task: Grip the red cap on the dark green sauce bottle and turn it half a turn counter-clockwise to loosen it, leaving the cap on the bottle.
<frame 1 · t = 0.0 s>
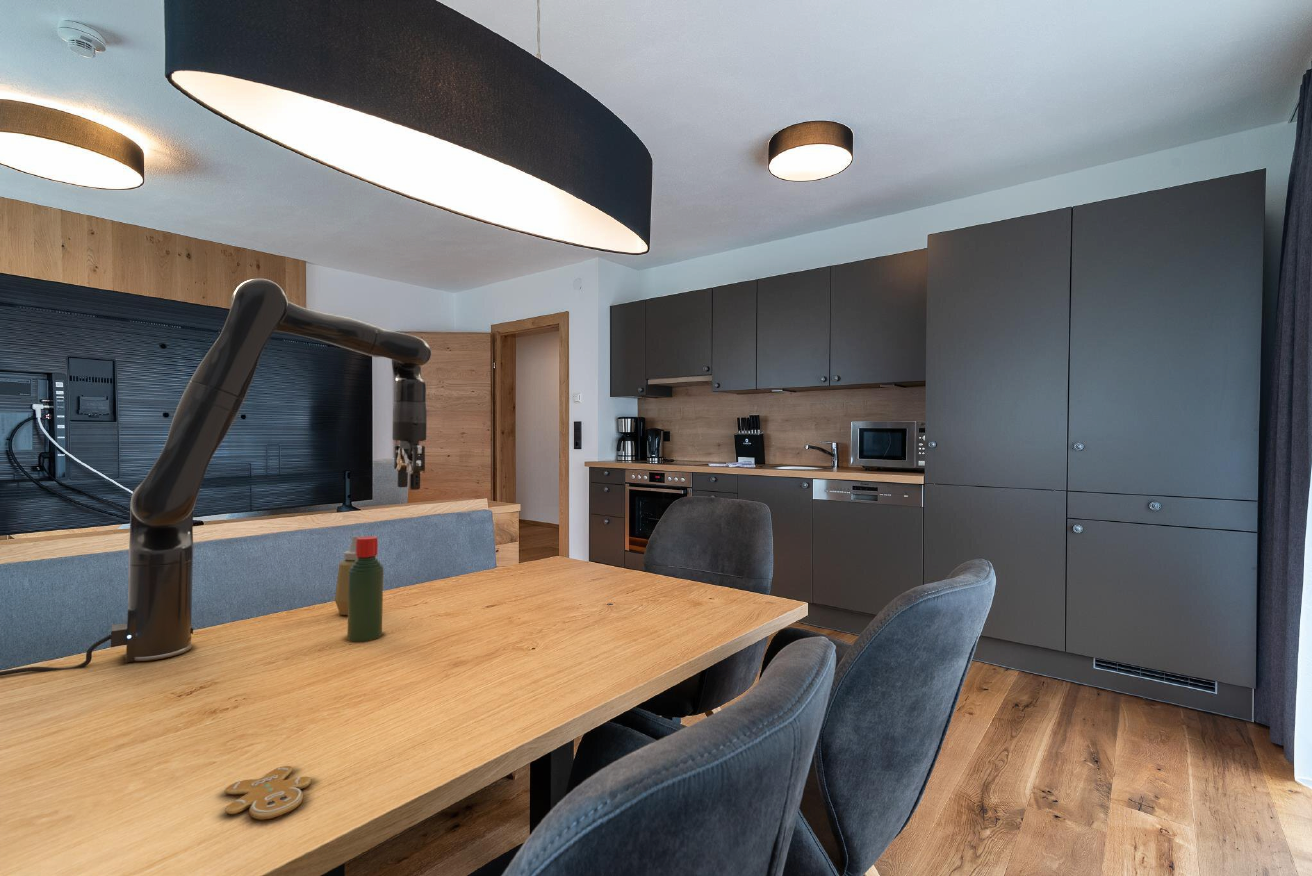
hand: (408, 488, 139), 29 cm above the table, tool pointing down, fingers open, 8 cm apart
squeeze bottle: (353, 613, 137), on the table
cap: (366, 539, 120), point 20 cm above the table, screwed on, not yet turned
cookie: (269, 798, 65), on the table
sauce bottle: (364, 636, 120), on the table
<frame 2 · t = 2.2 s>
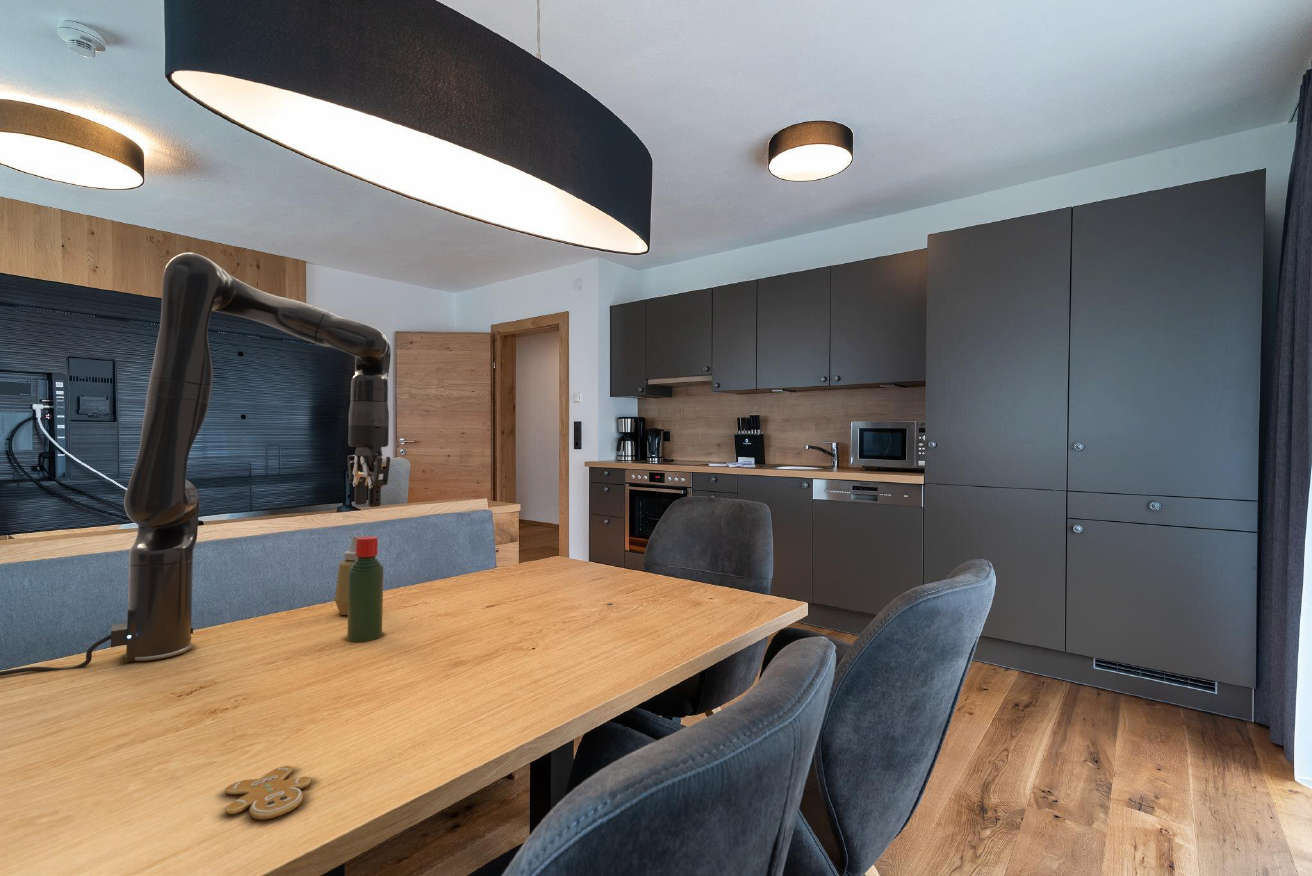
hand: (367, 505, 120), 27 cm above the table, tool pointing down, fingers open, 5 cm apart
nothing on the table moved.
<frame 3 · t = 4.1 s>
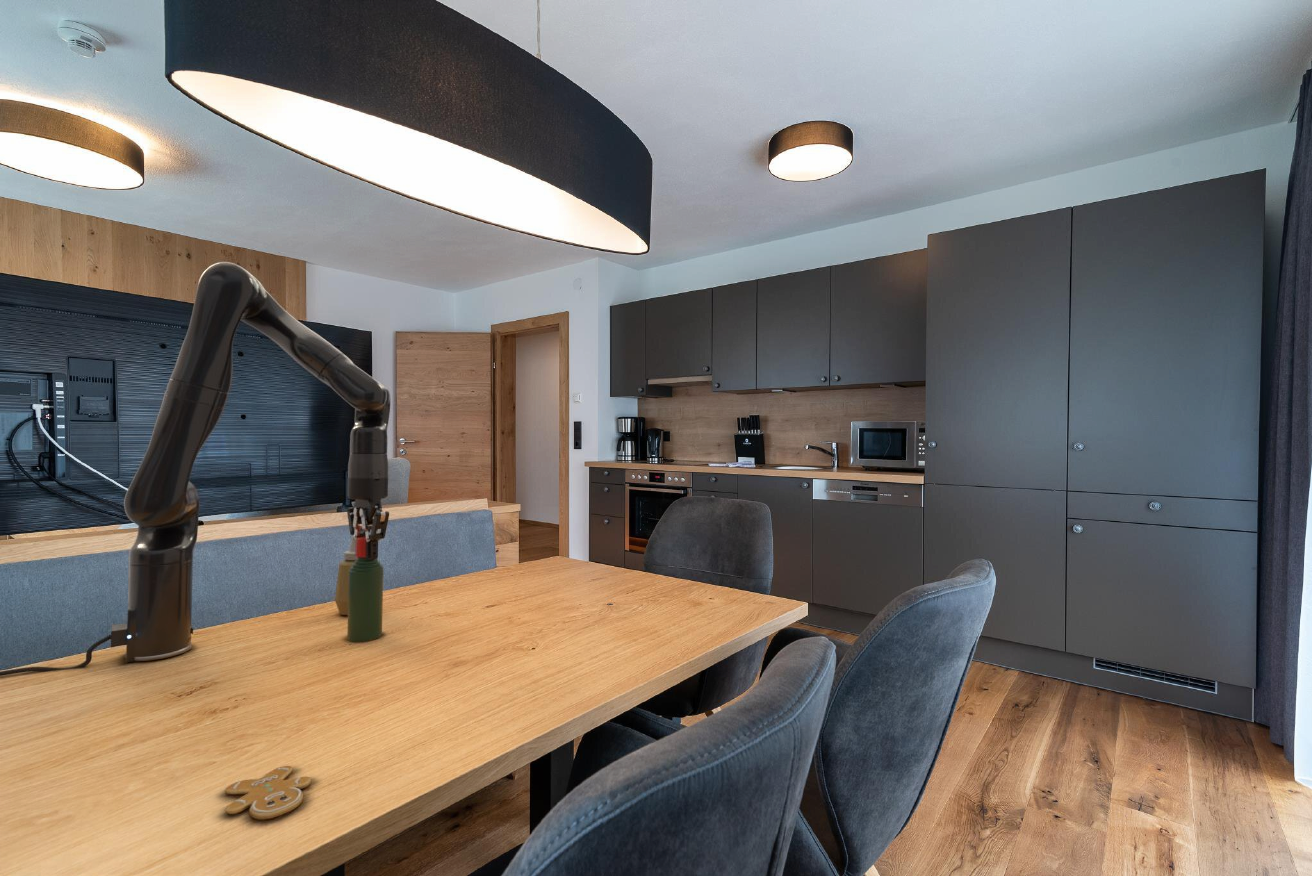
hand: (366, 557, 120), 16 cm above the table, tool pointing down, fingers closed on cap, 3 cm apart
cap: (366, 539, 120), point 20 cm above the table, screwed on, not yet turned, touching gripper
everything else where it was.
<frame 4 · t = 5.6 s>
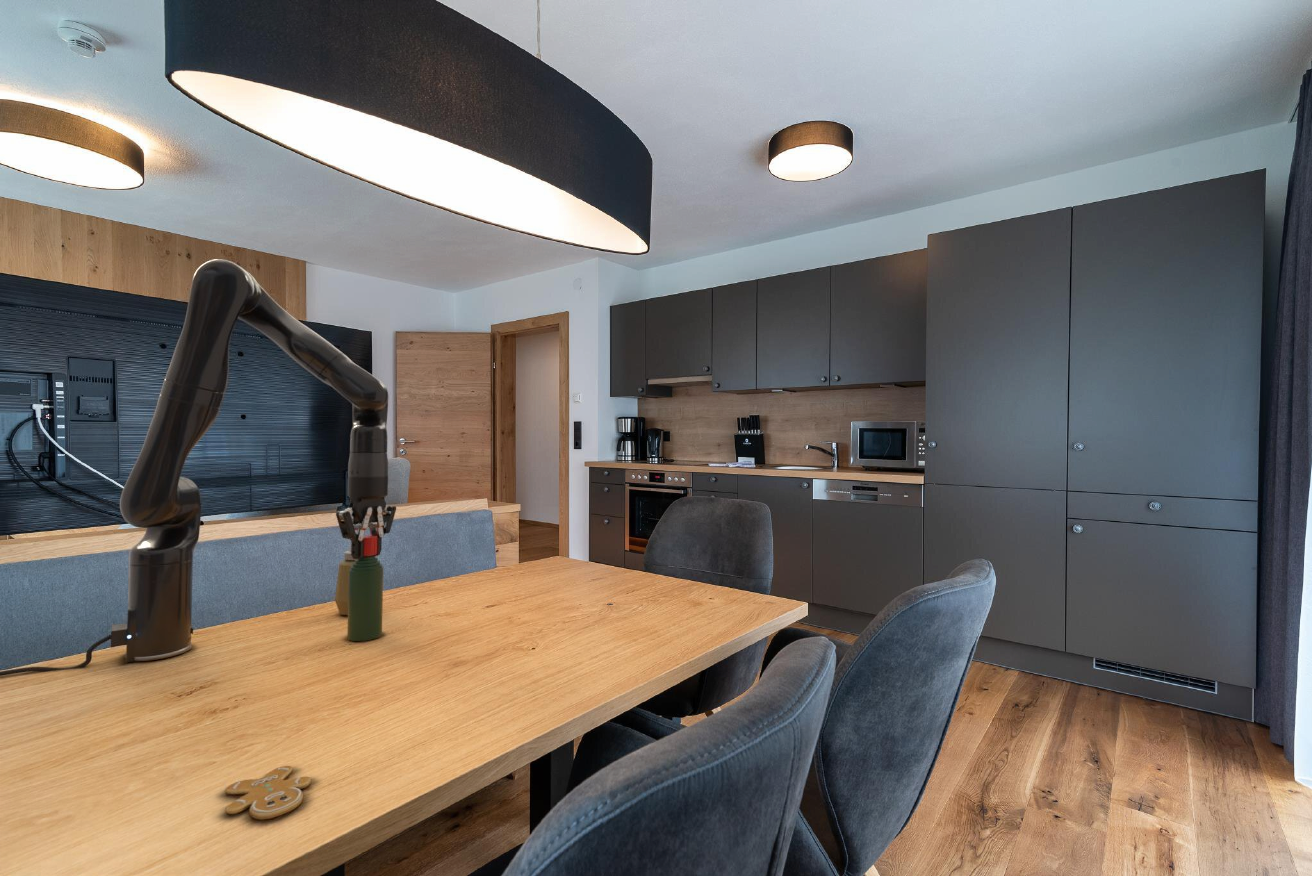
hand: (366, 556, 120), 16 cm above the table, tool pointing down, fingers closed on cap, 3 cm apart
cap: (366, 538, 120), point 20 cm above the table, turned 109° so far, risen 0.1 cm, still on its thread, touching gripper
everything else where it was.
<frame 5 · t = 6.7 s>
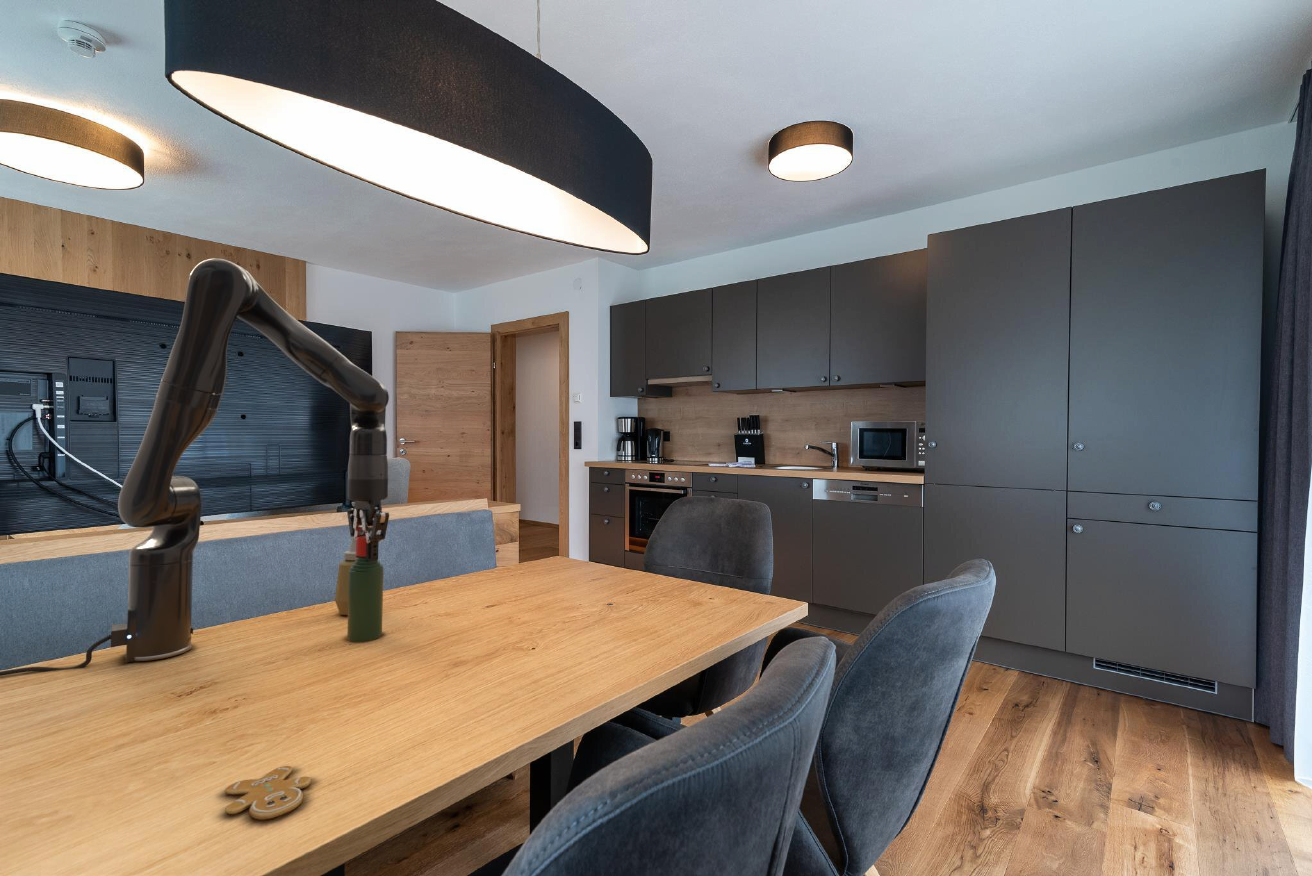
hand: (367, 559, 120), 16 cm above the table, tool pointing down, fingers closed on cap, 3 cm apart
cap: (367, 538, 120), point 20 cm above the table, turned 181° so far, risen 0.2 cm, still on its thread, touching gripper
sauce bottle: (364, 636, 120), on the table, touching gripper
everything else where it was.
when the fingers open (16 cm above the table, at t = 8.4 s): cap stays where it is, point 20 cm above the table.
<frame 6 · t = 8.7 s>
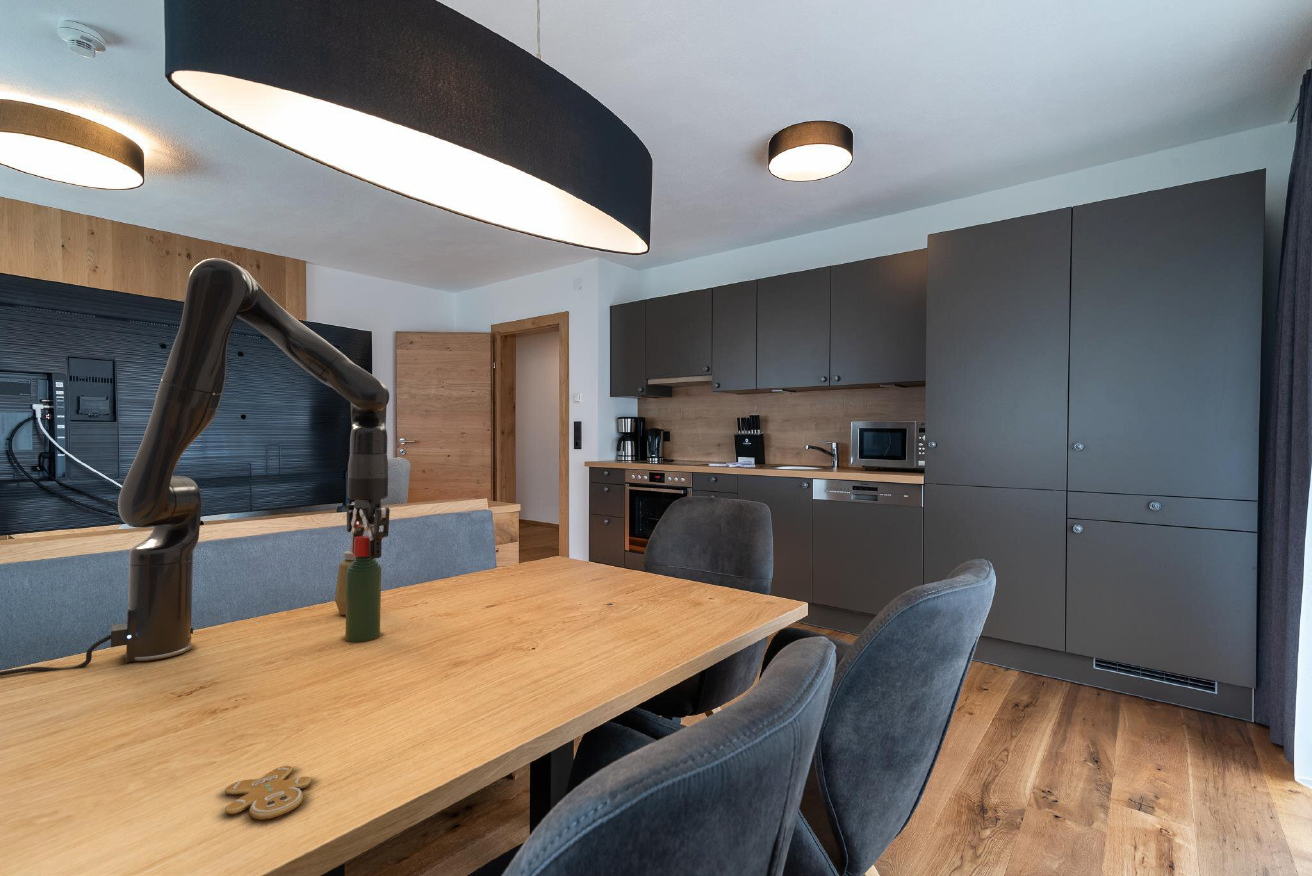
hand: (366, 555, 120), 17 cm above the table, tool pointing down, fingers open, 6 cm apart
cap: (364, 538, 120), point 20 cm above the table, turned 180° so far, risen 0.2 cm, still on its thread
sauce bottle: (362, 636, 120), on the table
everything else where it was.
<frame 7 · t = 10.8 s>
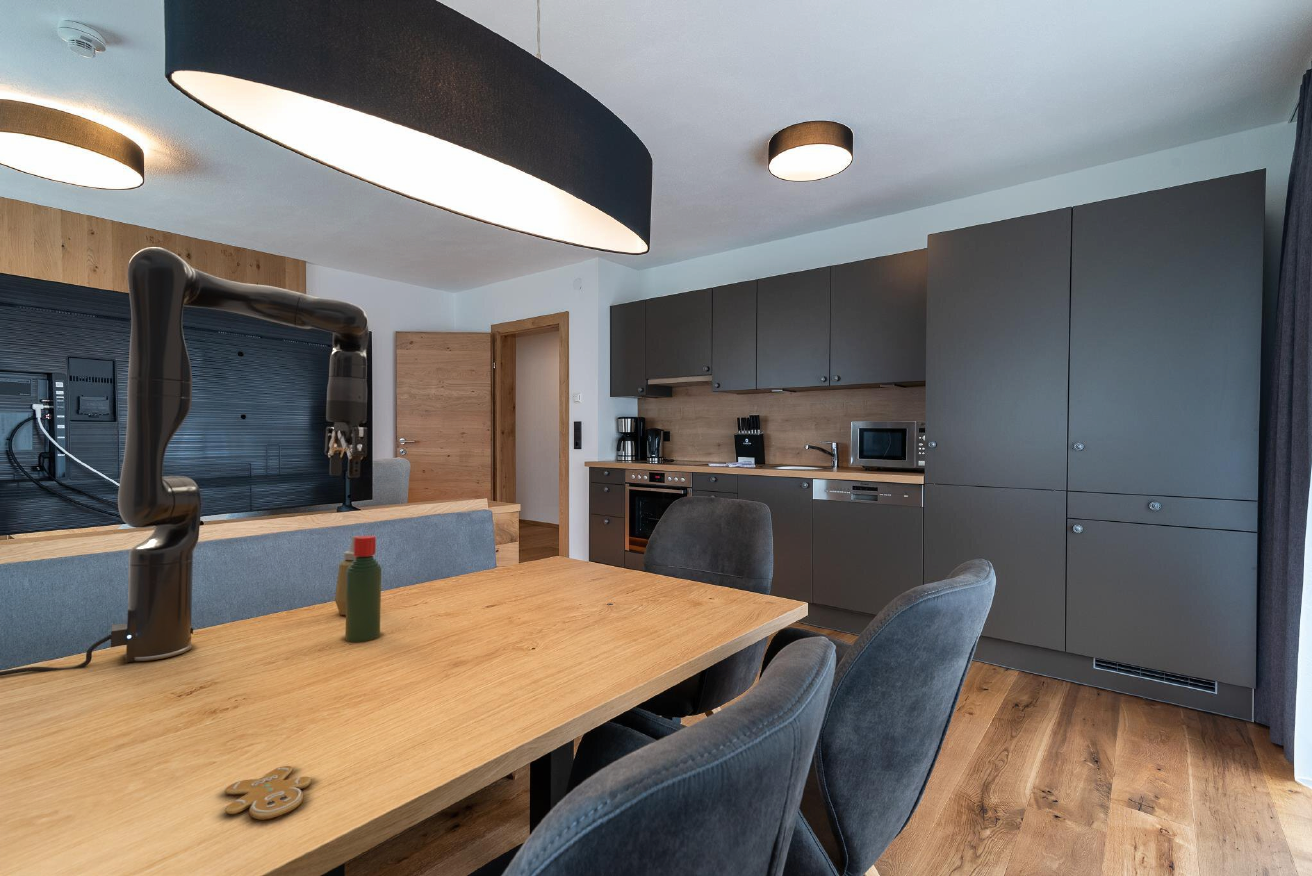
hand: (344, 476, 122), 33 cm above the table, tool pointing down, fingers open, 8 cm apart
nothing on the table moved.
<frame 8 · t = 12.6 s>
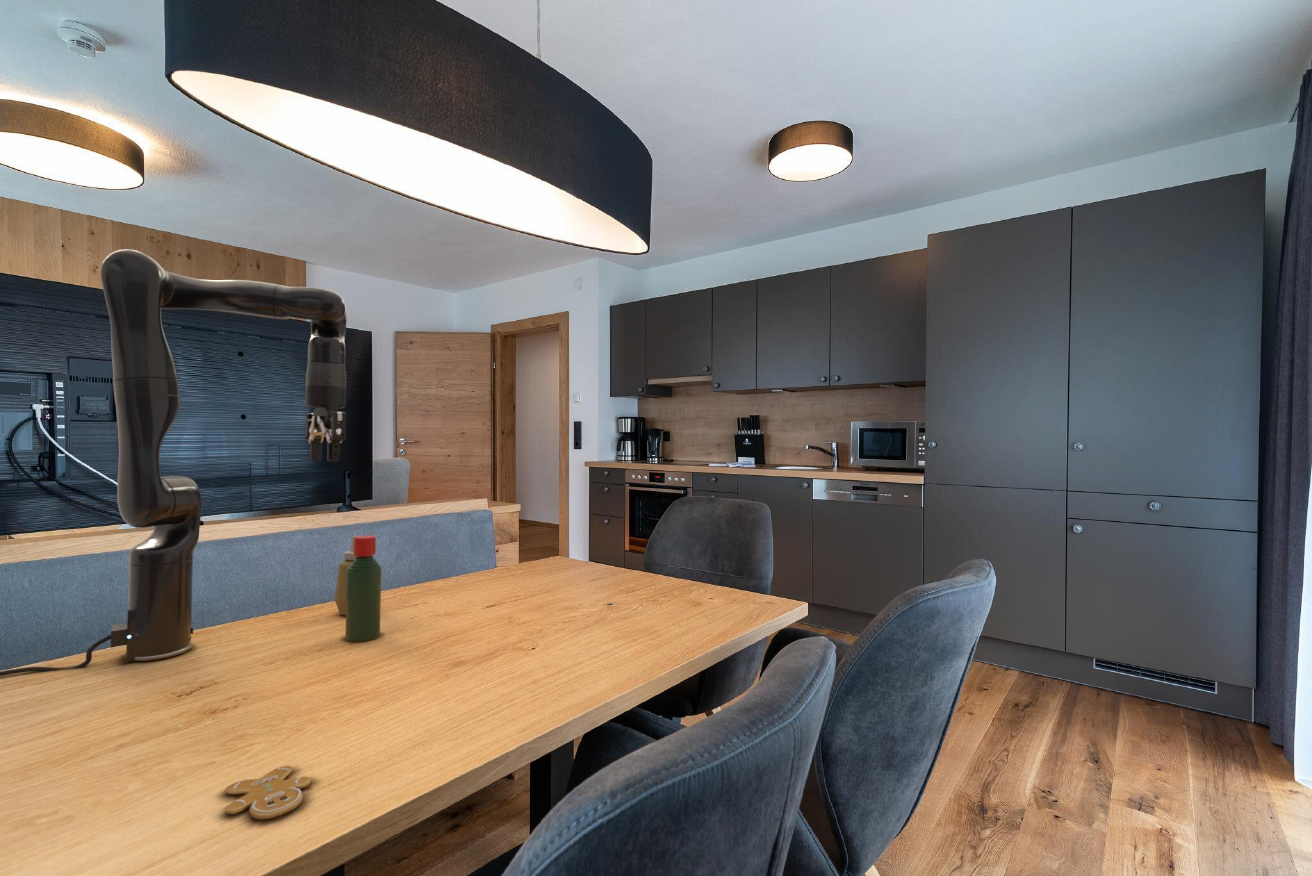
hand: (324, 461, 124), 36 cm above the table, tool pointing down, fingers open, 8 cm apart
nothing on the table moved.
at the end: cap turned 0.50 turns (still on its thread); sauce bottle tilted 0° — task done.
